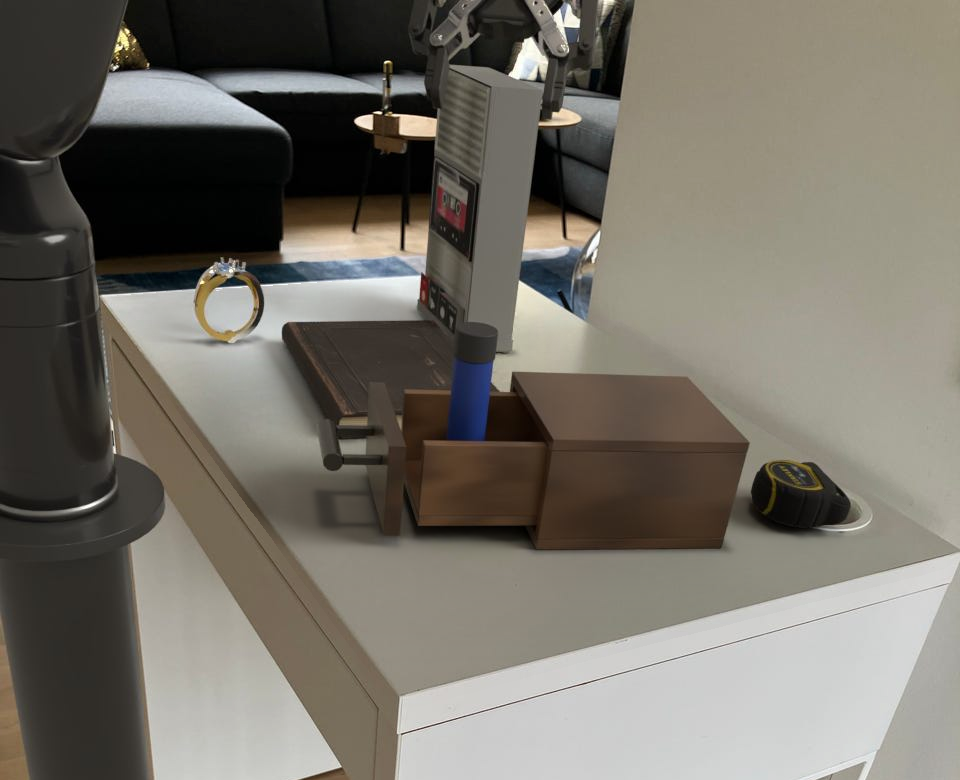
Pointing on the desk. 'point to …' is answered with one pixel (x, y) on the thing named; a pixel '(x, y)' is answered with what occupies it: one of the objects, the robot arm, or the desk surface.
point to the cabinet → (631, 461)
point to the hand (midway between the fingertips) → (491, 108)
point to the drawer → (445, 461)
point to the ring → (207, 287)
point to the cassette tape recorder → (479, 200)
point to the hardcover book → (369, 362)
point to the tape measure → (798, 495)
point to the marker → (471, 380)
